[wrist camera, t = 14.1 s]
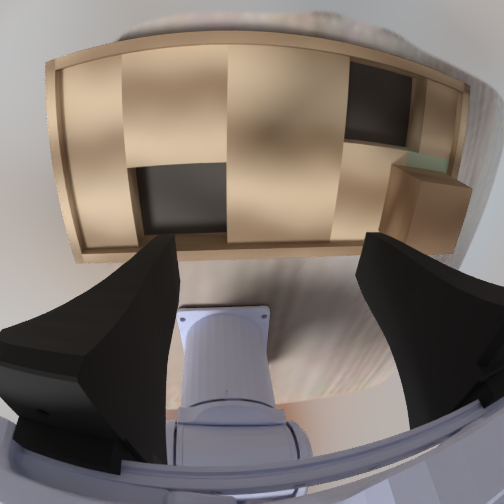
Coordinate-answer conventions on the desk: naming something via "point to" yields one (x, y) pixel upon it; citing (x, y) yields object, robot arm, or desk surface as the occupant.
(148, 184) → the tray
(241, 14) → the desk surface
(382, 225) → the walnut block
